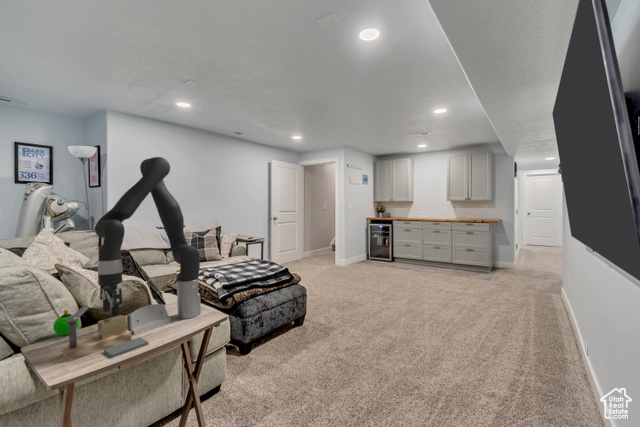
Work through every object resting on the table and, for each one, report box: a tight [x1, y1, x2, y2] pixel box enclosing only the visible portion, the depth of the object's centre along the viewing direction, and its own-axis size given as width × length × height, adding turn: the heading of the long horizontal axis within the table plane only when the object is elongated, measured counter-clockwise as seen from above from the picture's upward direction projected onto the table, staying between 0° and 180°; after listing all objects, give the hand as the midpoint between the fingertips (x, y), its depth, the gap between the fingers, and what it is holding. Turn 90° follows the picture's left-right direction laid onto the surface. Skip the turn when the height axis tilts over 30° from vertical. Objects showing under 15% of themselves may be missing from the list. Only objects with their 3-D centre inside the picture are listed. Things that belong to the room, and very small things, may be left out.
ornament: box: [52, 309, 80, 336], centre depth 121 cm, size 8×8×10 cm
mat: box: [103, 336, 149, 359], centre depth 109 cm, size 12×7×1 cm, turn 144°
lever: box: [66, 305, 89, 324], centre depth 109 cm, size 16×3×2 cm, turn 23°
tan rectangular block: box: [97, 314, 127, 340], centre depth 114 cm, size 8×4×6 cm, turn 144°
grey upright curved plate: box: [126, 303, 172, 336], centre depth 129 cm, size 17×5×10 cm, turn 151°
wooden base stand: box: [62, 322, 133, 362], centre depth 110 cm, size 19×8×12 cm, turn 144°
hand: (110, 313), depth 113 cm, fingers open, 8 cm apart
